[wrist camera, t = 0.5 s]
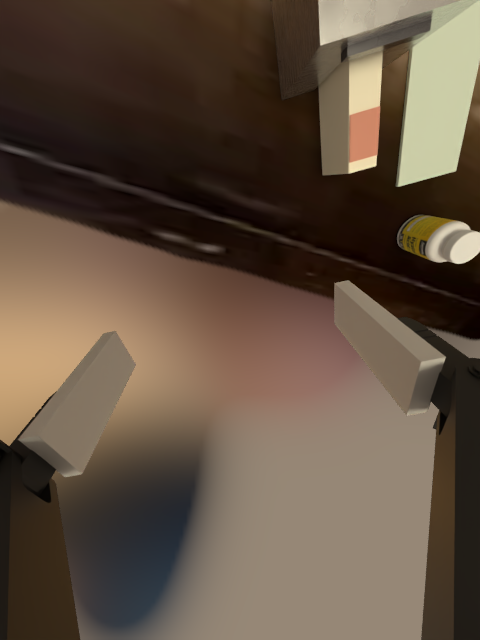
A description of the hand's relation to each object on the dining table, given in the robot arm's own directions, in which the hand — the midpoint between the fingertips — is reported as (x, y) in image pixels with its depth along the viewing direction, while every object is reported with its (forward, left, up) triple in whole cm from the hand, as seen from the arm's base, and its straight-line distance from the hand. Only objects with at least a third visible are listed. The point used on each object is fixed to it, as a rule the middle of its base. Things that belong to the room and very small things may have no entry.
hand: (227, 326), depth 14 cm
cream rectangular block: (-11, +17, -26) cm, 33 cm away
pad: (-9, +30, -26) cm, 40 cm away
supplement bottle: (+7, +29, -26) cm, 40 cm away
